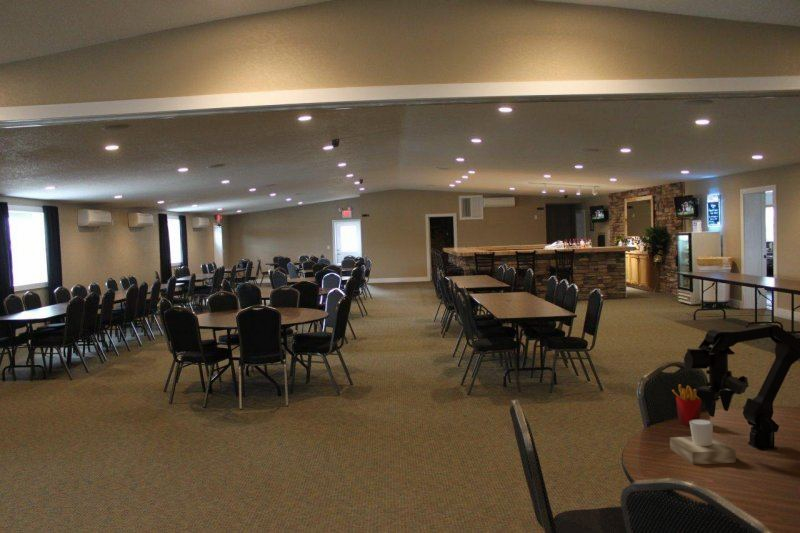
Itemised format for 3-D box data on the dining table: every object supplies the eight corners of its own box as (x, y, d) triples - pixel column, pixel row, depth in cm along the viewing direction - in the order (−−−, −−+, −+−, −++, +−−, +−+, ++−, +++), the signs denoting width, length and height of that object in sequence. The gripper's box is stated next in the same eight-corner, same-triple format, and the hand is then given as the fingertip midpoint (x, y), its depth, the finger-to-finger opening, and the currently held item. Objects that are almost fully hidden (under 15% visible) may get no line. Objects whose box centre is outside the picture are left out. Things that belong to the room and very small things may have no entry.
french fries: (689, 420, 233) (689, 382, 233) (705, 426, 225) (705, 387, 225) (670, 422, 231) (670, 384, 230) (685, 429, 223) (686, 389, 222)
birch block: (710, 448, 205) (710, 435, 205) (735, 464, 191) (735, 450, 191) (670, 450, 204) (669, 437, 204) (692, 466, 190) (692, 452, 190)
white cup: (717, 446, 193) (716, 424, 193) (694, 447, 194) (693, 425, 194) (709, 439, 200) (708, 418, 200) (687, 440, 201) (686, 419, 201)
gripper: (729, 376, 190) (730, 425, 191) (757, 366, 201) (757, 413, 202) (694, 371, 199) (695, 417, 200) (723, 361, 210) (724, 406, 211)
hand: (719, 413), depth 203 cm, fingers open, 9 cm apart
